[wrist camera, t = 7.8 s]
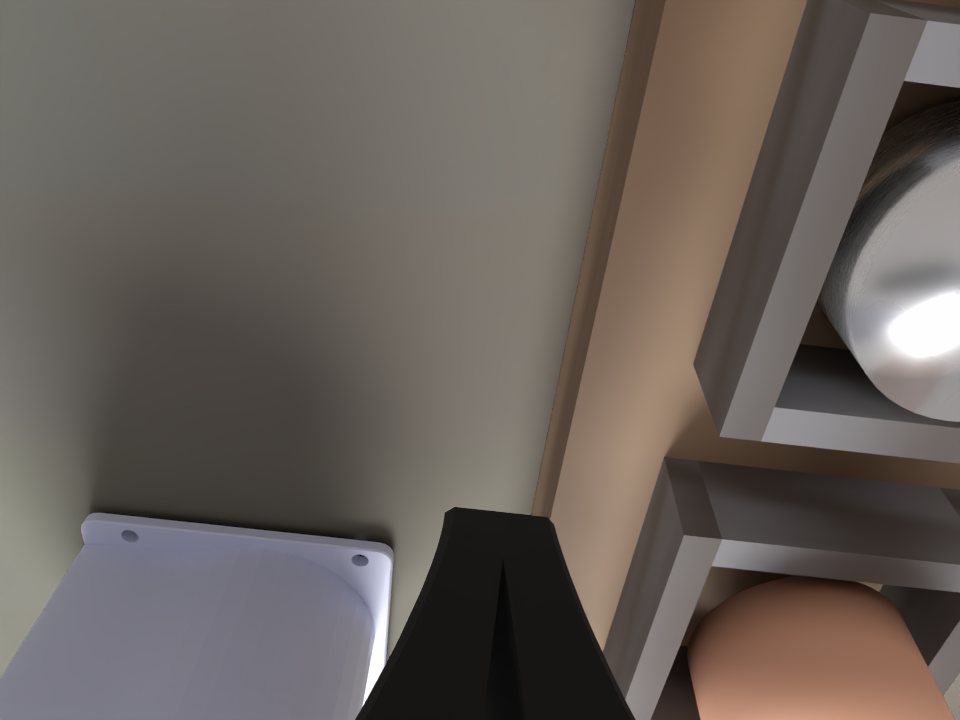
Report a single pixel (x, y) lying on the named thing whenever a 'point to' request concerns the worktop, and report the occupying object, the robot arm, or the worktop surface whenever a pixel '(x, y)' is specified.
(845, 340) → the steel plunger
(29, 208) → the worktop surface
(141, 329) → the worktop surface
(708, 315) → the press panel
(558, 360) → the worktop surface
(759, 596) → the terracotta plunger
